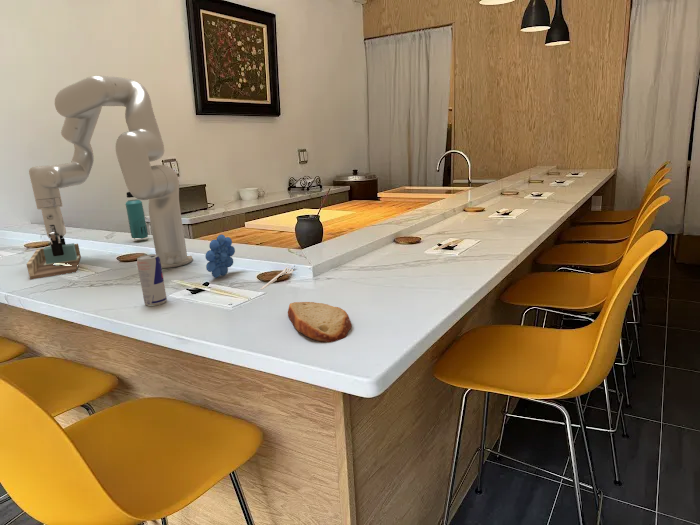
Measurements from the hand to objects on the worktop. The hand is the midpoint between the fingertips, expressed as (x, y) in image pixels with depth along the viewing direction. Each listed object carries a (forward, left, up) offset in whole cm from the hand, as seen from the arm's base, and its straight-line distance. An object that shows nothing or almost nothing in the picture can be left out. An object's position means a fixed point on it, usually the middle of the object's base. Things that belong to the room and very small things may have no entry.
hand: (60, 252), depth 178 cm
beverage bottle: (+22, -26, -4) cm, 35 cm away
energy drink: (-66, -26, -4) cm, 71 cm away
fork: (-64, -59, -5) cm, 87 cm away
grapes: (-51, -45, -4) cm, 68 cm away
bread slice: (-101, -56, -5) cm, 116 cm away
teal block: (0, 0, -3) cm, 3 cm away
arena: (-5, +1, -4) cm, 6 cm away
